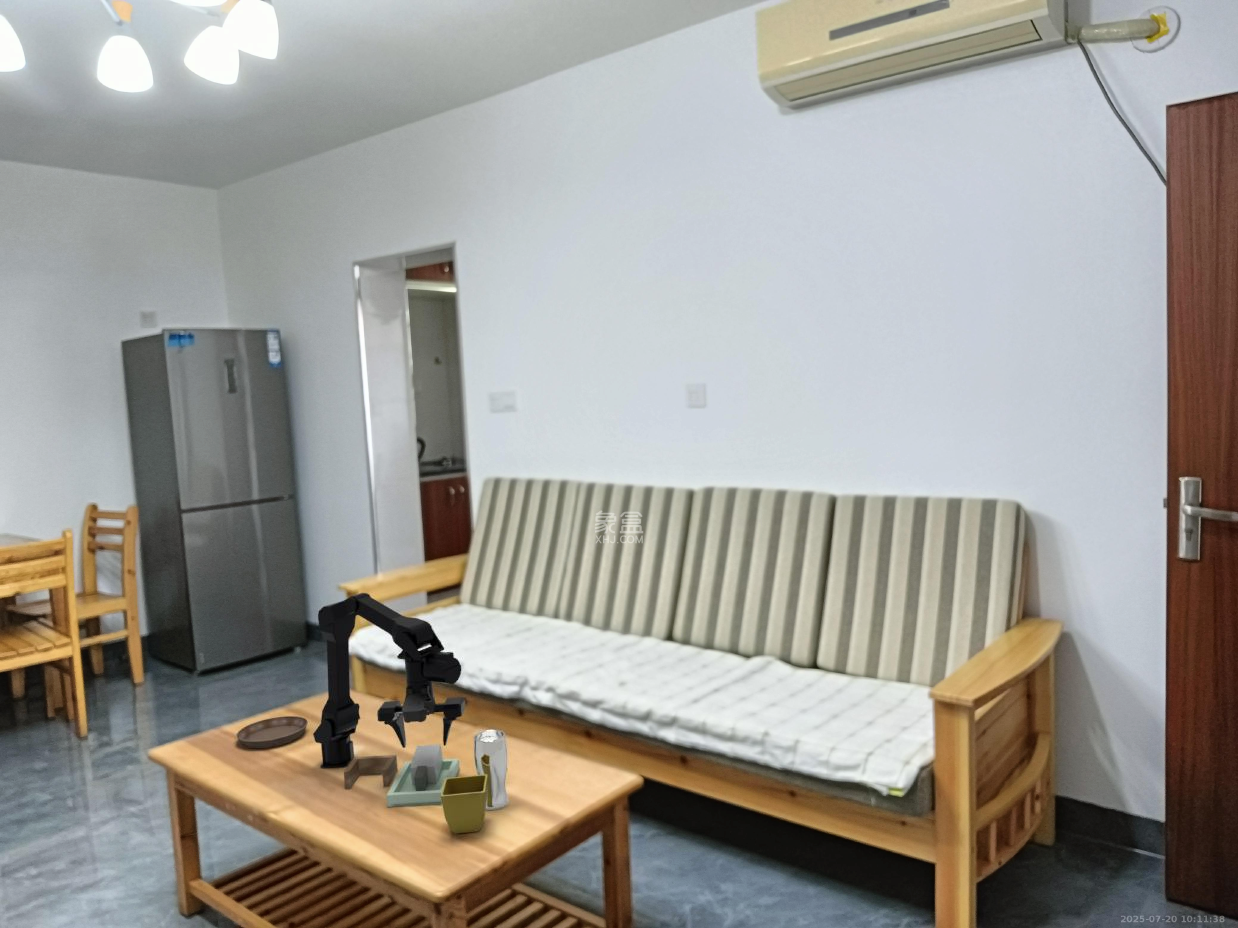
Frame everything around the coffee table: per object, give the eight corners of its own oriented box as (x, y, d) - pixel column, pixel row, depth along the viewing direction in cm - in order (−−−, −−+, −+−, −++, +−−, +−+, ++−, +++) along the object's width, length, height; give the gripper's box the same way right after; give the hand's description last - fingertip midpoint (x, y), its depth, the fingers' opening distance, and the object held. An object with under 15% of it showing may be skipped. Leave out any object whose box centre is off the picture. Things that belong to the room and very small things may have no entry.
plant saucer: (223, 744, 239) (222, 733, 238) (282, 721, 253) (281, 711, 253) (263, 757, 228) (262, 745, 228) (322, 732, 243) (321, 721, 243)
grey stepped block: (408, 796, 201) (405, 777, 199) (419, 762, 212) (416, 744, 211) (433, 794, 201) (430, 776, 199) (443, 760, 212) (440, 743, 211)
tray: (387, 806, 196) (386, 795, 195) (406, 771, 213) (406, 761, 213) (444, 803, 195) (444, 792, 195) (459, 769, 213) (458, 758, 213)
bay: (345, 788, 206) (343, 771, 206) (355, 773, 214) (354, 756, 214) (388, 786, 206) (387, 769, 206) (397, 771, 214) (396, 754, 214)
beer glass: (516, 797, 196) (511, 730, 195) (501, 812, 190) (496, 742, 189) (487, 794, 199) (482, 728, 197) (472, 809, 192) (466, 740, 191)
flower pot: (448, 819, 188) (444, 777, 188) (490, 815, 189) (487, 773, 188) (443, 839, 180) (440, 795, 179) (488, 835, 180) (485, 791, 180)
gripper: (367, 692, 196) (373, 762, 198) (454, 687, 196) (459, 758, 197) (381, 676, 207) (387, 743, 209) (463, 671, 207) (468, 738, 209)
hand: (424, 745), depth 206 cm, fingers open, 9 cm apart
